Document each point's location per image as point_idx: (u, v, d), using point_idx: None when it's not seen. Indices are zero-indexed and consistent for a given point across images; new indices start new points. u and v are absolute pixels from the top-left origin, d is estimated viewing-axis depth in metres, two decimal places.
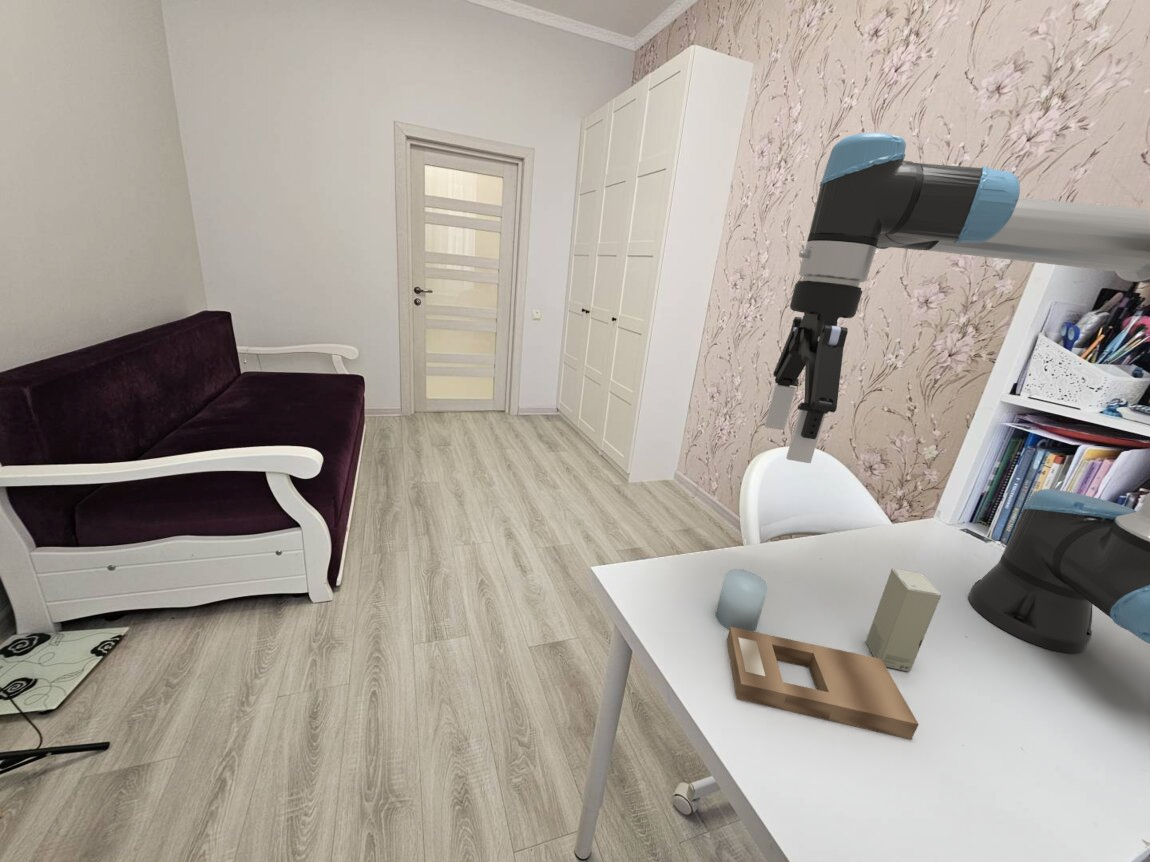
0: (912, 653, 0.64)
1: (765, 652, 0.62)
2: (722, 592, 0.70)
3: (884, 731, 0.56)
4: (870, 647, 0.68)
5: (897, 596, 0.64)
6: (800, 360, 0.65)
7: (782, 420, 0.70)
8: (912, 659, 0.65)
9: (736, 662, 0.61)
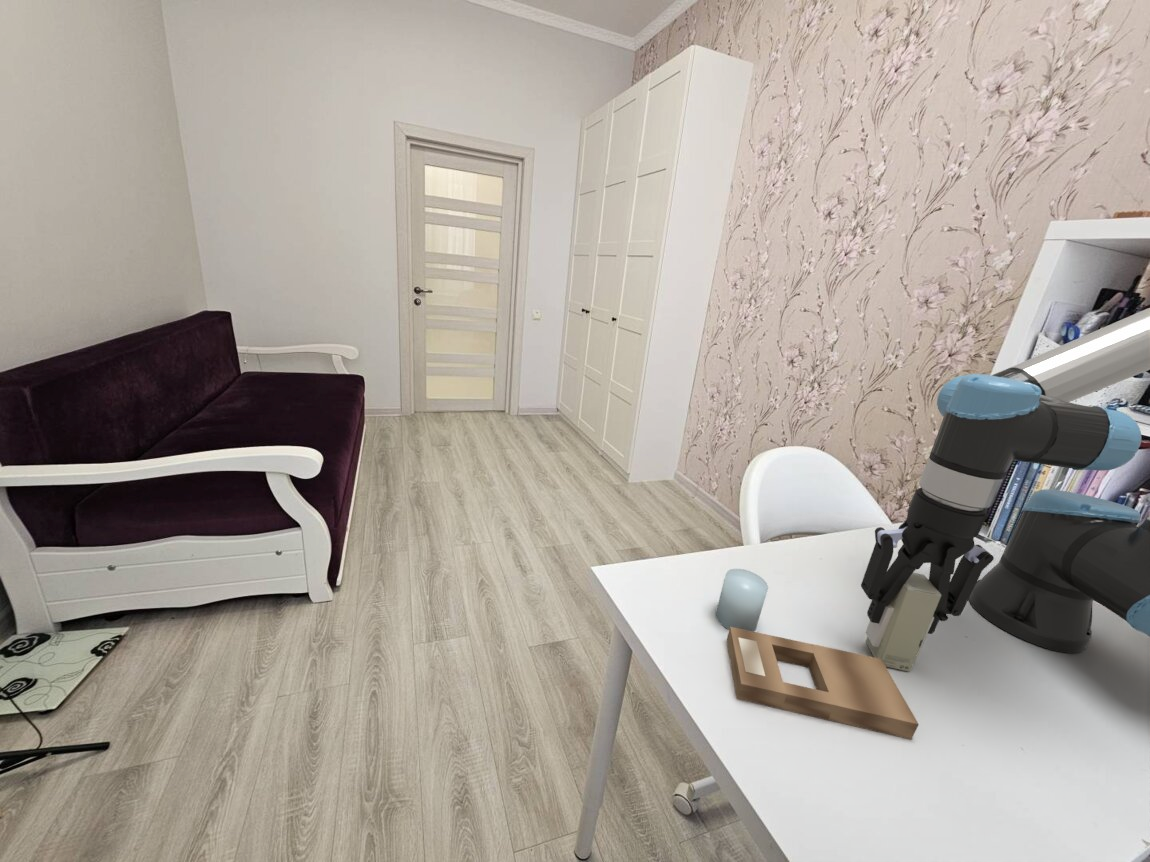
0: (912, 653, 0.64)
1: (765, 652, 0.62)
2: (722, 592, 0.70)
3: (884, 731, 0.56)
4: (870, 647, 0.68)
5: (897, 596, 0.64)
6: (935, 575, 0.63)
7: None
8: (912, 659, 0.65)
9: (736, 662, 0.61)
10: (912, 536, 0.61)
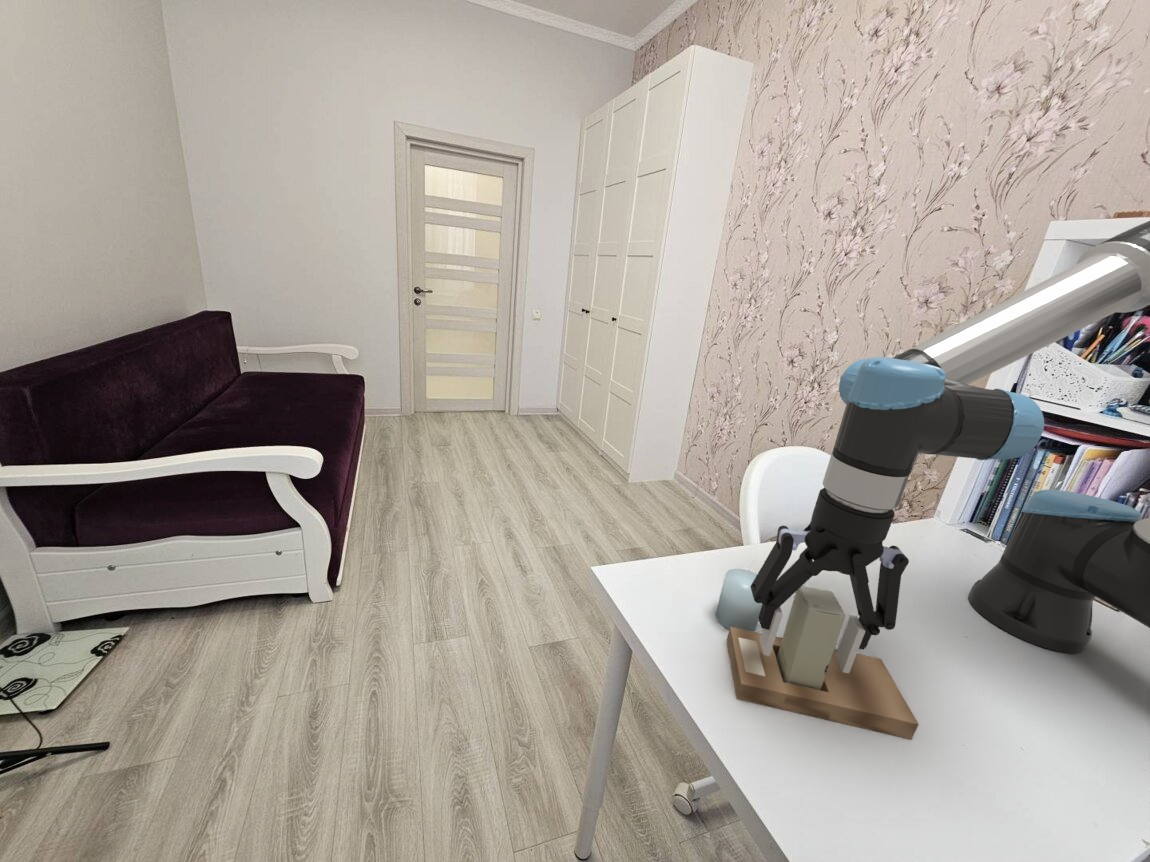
0: (818, 680, 0.58)
1: None
2: (722, 592, 0.70)
3: (884, 731, 0.56)
4: None
5: (800, 616, 0.57)
6: (854, 585, 0.56)
7: (844, 658, 0.58)
8: (818, 686, 0.58)
9: (736, 662, 0.61)
10: (815, 541, 0.54)
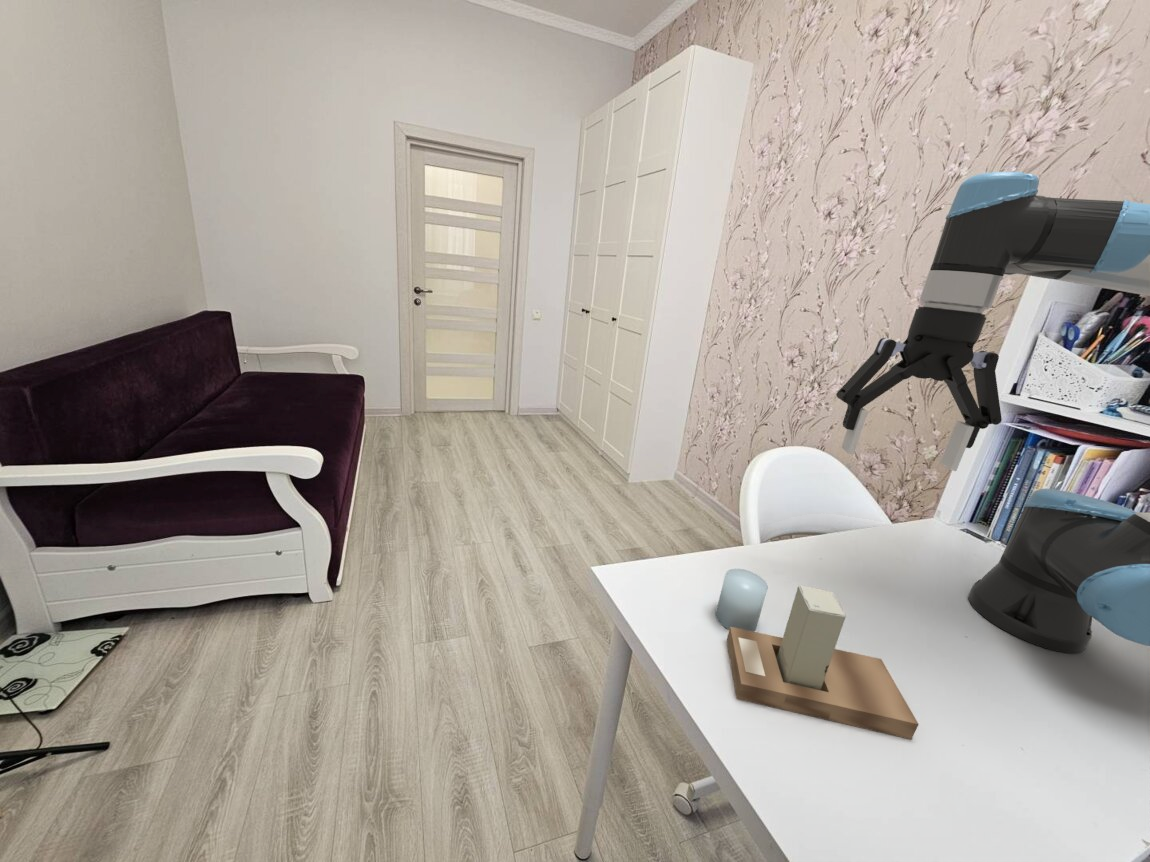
0: (818, 680, 0.58)
1: (765, 652, 0.62)
2: (722, 592, 0.70)
3: (884, 731, 0.56)
4: None
5: (801, 616, 0.57)
6: (954, 390, 0.64)
7: (951, 458, 0.66)
8: (819, 686, 0.58)
9: (736, 662, 0.61)
10: (913, 349, 0.62)
